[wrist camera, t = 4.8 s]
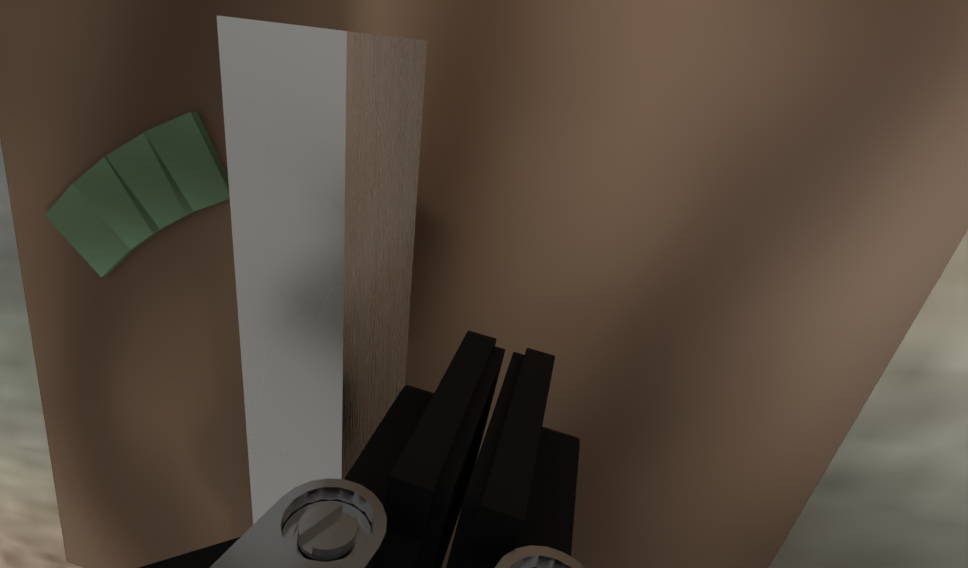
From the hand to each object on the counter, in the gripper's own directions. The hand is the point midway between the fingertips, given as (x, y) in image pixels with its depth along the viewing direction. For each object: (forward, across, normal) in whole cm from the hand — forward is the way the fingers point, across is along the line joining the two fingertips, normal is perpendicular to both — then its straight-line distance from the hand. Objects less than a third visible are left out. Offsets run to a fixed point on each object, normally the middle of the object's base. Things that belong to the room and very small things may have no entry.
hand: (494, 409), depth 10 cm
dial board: (+4, +3, +2) cm, 6 cm away
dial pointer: (+2, +2, +3) cm, 5 cm away
